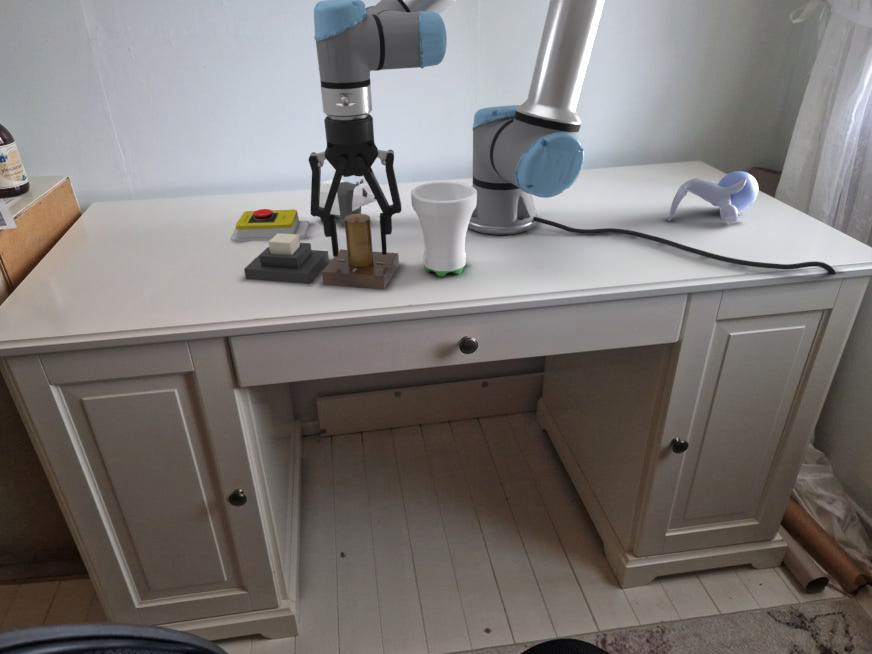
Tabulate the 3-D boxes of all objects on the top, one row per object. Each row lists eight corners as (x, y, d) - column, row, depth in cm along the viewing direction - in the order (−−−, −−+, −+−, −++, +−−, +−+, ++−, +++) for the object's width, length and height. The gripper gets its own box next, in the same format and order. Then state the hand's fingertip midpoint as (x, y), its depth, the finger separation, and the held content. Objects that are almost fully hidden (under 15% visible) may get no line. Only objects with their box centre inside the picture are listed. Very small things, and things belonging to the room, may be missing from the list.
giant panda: (314, 221, 135) (309, 177, 130) (329, 213, 139) (324, 170, 134) (371, 232, 129) (368, 186, 124) (386, 223, 133) (383, 178, 128)
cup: (480, 258, 117) (482, 182, 109) (470, 284, 108) (471, 203, 100) (421, 254, 119) (419, 179, 111) (406, 279, 110) (403, 199, 102)
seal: (761, 232, 133) (679, 240, 128) (733, 192, 140) (653, 198, 135) (785, 202, 126) (699, 209, 121) (754, 161, 133) (671, 166, 128)
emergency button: (236, 205, 132) (307, 203, 132) (239, 225, 134) (310, 223, 134) (225, 220, 124) (301, 218, 124) (229, 241, 126) (304, 239, 126)
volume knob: (349, 257, 112) (344, 212, 108) (374, 256, 112) (370, 211, 108) (347, 267, 108) (343, 221, 104) (373, 266, 108) (369, 220, 104)
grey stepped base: (329, 260, 117) (326, 240, 115) (309, 284, 109) (306, 262, 107) (269, 256, 119) (265, 236, 117) (245, 279, 111) (241, 258, 109)
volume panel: (399, 265, 115) (398, 252, 113) (384, 289, 107) (383, 275, 105) (341, 261, 117) (340, 248, 115) (323, 285, 109) (321, 270, 107)
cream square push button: (300, 247, 114) (298, 234, 112) (291, 256, 110) (289, 242, 109) (279, 246, 114) (277, 233, 113) (270, 255, 111) (268, 241, 110)
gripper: (277, 122, 94) (298, 263, 106) (415, 117, 94) (419, 258, 106) (284, 111, 100) (303, 246, 112) (414, 107, 100) (418, 242, 113)
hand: (360, 252), depth 109 cm, fingers open, 8 cm apart
